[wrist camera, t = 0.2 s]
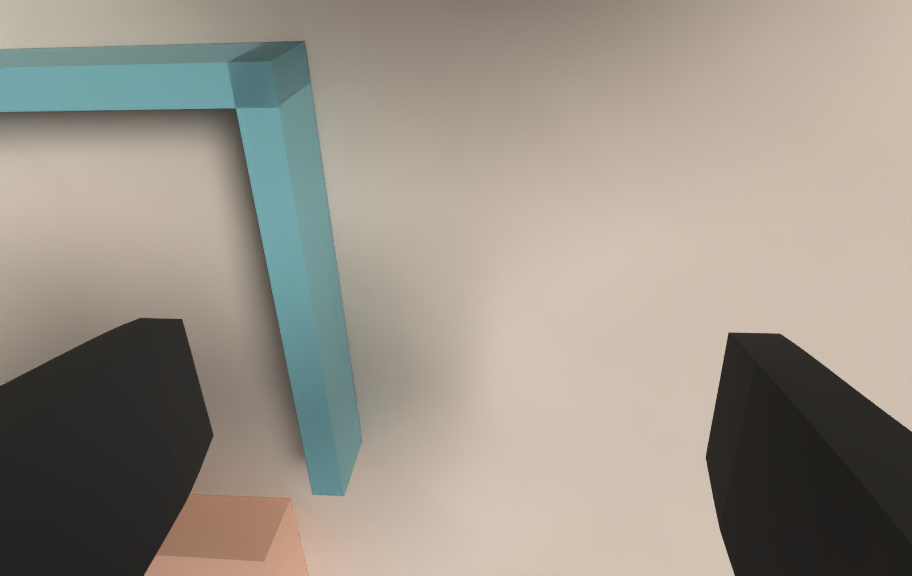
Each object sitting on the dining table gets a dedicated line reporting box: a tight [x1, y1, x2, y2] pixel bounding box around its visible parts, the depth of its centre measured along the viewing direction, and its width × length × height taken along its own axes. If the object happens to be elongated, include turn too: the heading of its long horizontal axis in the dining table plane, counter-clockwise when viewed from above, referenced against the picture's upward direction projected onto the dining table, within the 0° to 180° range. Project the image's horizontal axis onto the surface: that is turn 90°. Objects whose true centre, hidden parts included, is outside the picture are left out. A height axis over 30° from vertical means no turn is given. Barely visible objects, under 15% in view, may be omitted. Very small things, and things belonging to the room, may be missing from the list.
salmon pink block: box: [144, 494, 309, 576], centre depth 25 cm, size 5×5×3 cm
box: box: [0, 41, 362, 496], centre depth 20 cm, size 13×17×2 cm
